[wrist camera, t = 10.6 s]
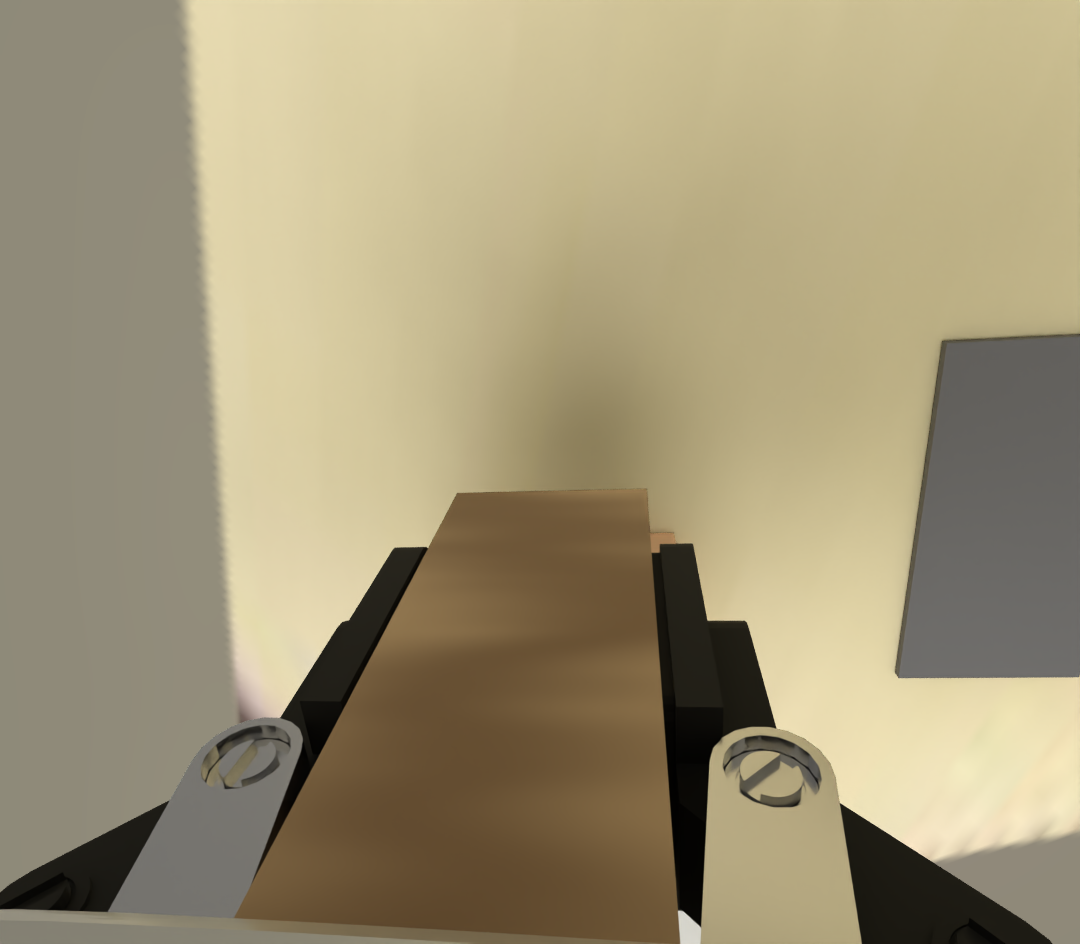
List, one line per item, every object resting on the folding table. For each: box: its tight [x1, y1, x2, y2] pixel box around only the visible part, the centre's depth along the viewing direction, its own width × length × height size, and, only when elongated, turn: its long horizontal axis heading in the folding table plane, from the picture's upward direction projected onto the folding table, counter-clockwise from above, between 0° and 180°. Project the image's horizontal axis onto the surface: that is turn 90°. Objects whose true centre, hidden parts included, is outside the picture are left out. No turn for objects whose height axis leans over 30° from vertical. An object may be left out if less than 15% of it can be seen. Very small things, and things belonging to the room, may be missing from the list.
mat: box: [895, 334, 1080, 678], centre depth 30 cm, size 8×16×1 cm, turn 4°
